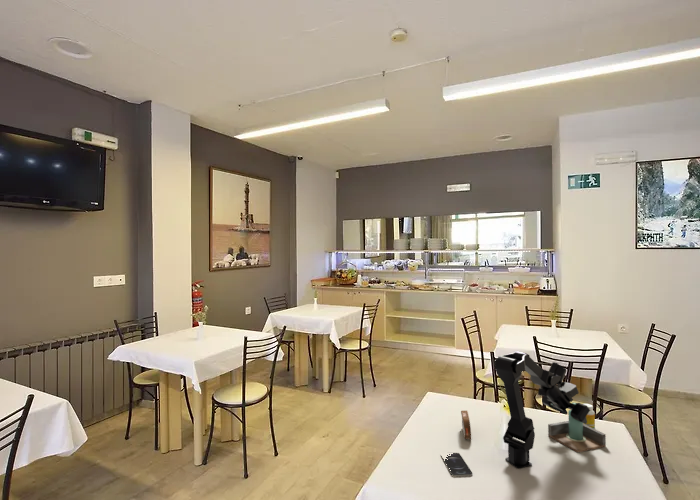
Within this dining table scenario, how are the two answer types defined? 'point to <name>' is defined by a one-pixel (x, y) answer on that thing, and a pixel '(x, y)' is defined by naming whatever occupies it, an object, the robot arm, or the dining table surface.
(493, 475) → the dining table surface
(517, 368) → the robot arm
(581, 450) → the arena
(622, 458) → the dining table surface
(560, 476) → the dining table surface
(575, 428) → the teal bottle
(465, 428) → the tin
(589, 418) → the supplement bottle
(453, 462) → the smartphone
